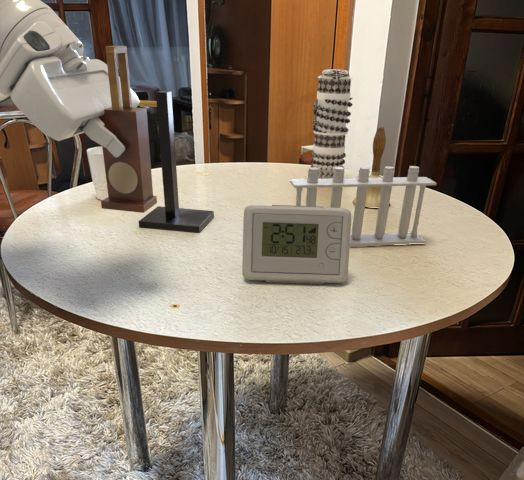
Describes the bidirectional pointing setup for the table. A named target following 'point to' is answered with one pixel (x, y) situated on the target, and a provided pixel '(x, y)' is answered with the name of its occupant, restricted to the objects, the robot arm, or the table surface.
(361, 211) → the test tube rack
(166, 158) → the stand
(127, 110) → the clock
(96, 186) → the white cup
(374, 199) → the hand bell
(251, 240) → the digital clock
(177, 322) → the table surface
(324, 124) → the white patterned cylinder
